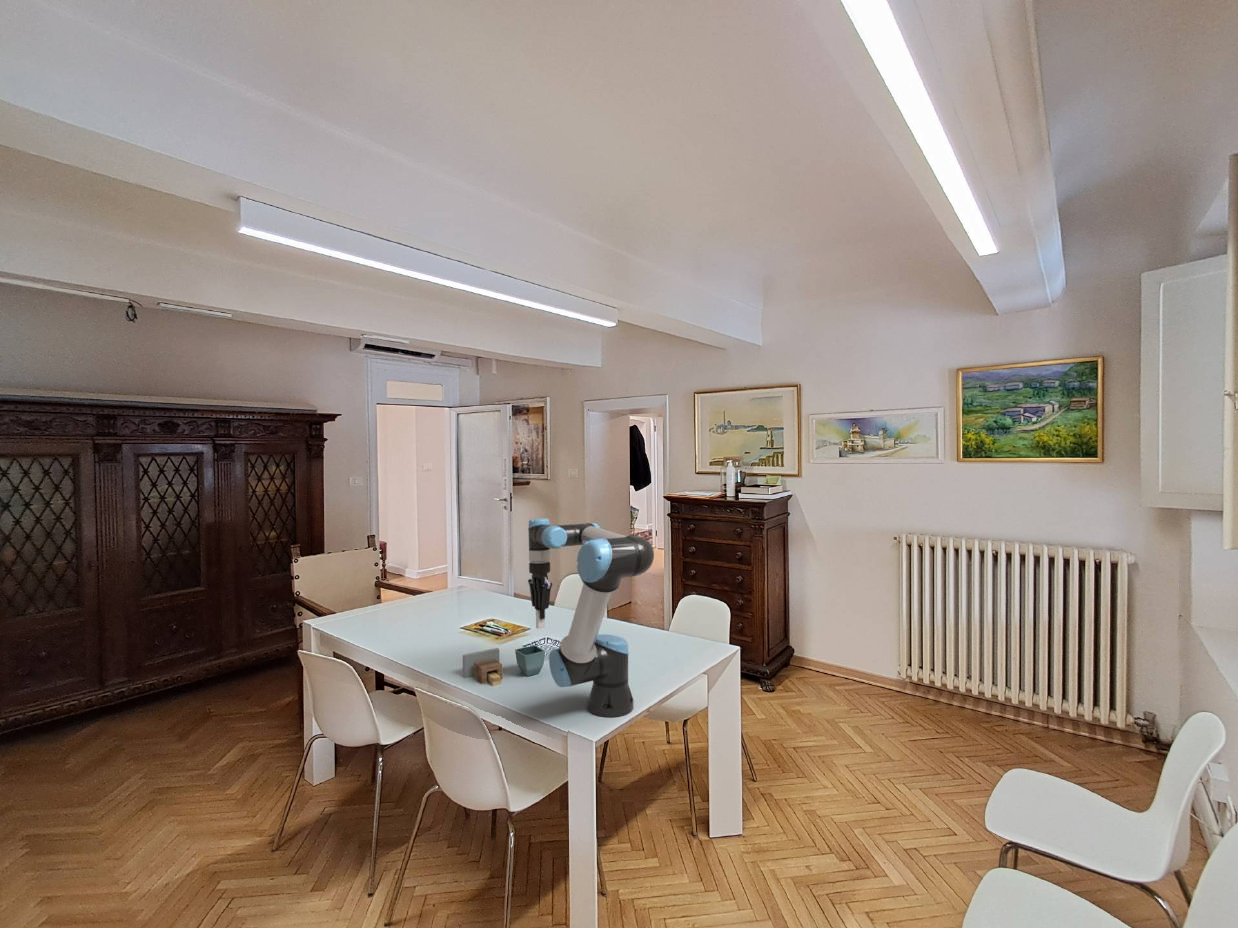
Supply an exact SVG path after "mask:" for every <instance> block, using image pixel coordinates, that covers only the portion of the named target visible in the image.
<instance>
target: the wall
mask: <svg viewBox="0 0 1238 928" xmlns="http://www.w3.org/2000/svg"><path fill="white" fill-rule="evenodd" d="M493 658H494V659H496V660H497V661H498V662H500V648H498V647H494V648H490V649H485V650H481V651H475V652H469V653H465V654H462V677H463V678H469V677H474V662H479V661H484V660H489V659H493Z"/></svg>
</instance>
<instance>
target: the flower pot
mask: <svg viewBox="0 0 1238 928" xmlns="http://www.w3.org/2000/svg"><path fill="white" fill-rule="evenodd" d="M514 654H515V660H516V664H517V667H518V669H519V671H520V672H521V673H522V675H524V676H526V677H530V676H534V675H537V674H538V675H539V673H540V672H541V671H542V669H543V666H544V663H545V656H546V655H545V654H546V650H544V649H543V648H541V647H539V646H537V645H529V646H525V647H524V646H523V647H520V648H516V649H514Z"/></svg>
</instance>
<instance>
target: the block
mask: <svg viewBox="0 0 1238 928" xmlns="http://www.w3.org/2000/svg"><path fill="white" fill-rule="evenodd" d="M488 671H494V672H495V673H497V674H498V675H499V676H501V680H503V663H501V662H500V661H499V662H498V661H497V660H496V659H494V658H493V659H489V660H484V661H479V662H474V675H473V679H476V680H477V681H478V682H479V683H480V684H482V685H483V684H487V683H488V682H487V672H488Z"/></svg>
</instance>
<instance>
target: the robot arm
mask: <svg viewBox="0 0 1238 928" xmlns="http://www.w3.org/2000/svg"><path fill="white" fill-rule="evenodd" d="M527 529H528V530H527V531H528V561H529V563H528V572H529V574H532V575H531V578H529V579H528V580H527V582H528V586H529V592H530V599H531V606H532V607H534V609H535V629H538V630H539V629H544V628H546V622H545V620H546V619H545V618H546V609H549V607H550V600H551V591H552V590H551V589H552V587H553V582H549V576H548V574H549V573H550V572H551V561H550V560H551V550H550V549H552V550H553V549H560V548H563V547H573V546H581V547H580V549H579V551H578V553H577V558H576V562H577V564H576V570H577V574H578V576H579V577H580V581H581V582H582V588H581V591H580V595H579V598H578V602H577V605H576V608H575V611H574V614H573V618H572V621H571V625H570V629H569V631H568V634H567V636H565V637H563V638H562V639H561V641H560V645H559V647H558V648H553V649H552V650H550V652H549V655H548V663H549V664H548V666H549V670H550V673H551V677H552V679H553V681H554V683H555V684H556V685H557V687H560V688H567V687H569V688H570V687H572V686H573V687H574V686H577V685H582V684H586V683H589V682H592V686H591V689H590V692H589V696H588V699H587V710H588V711H589V712H590V713H591V714H593V715H595V716H599V717H604V718H614V717H615V718H617V717H621V716H625V715H627V714H630V713H631V712H632V711H633V710H634V709H635V708H634V697H633V694H632V691H631V688H630V685H629V653H630V652H629V646H628V645H629V643H628V641H627V640H626V639H625V638H624V637H621V636H619V635H614V634H613V635H612V634H605V633H602V634H601V633H600V634H599V632H600V628H601V625H602V623H603V618H604V616H605V614H606V611H607V607H608V605H609V600H610V599H611V595H612V593H614V592H616V591H617V590H618V589H619V587H620V584H621V581H622V579H624V578H632V577H637V576H641V575H643V574H644V573H646V572H647V571H648V570H649V569H650V568H651V566H652V565H653V562H654V559H655V551H654V547H653V546H652V543H651V542H650V541H649V540H648V539H646V538H645V537H642V536H639V535H637V534H636V535H635V534H629V535H623V534H621V533H617V532H614V531H610V530H607V529H604V528H601V526H599V523H595V522H594V523H593V522H592V523H591V522H586V523H576V524H575V523H574V524H559V525H557V524H556V525H555V524H554V525H551V523H550V519H549V518H545V517H544V518H543V517H538V518H530V519H529V520H528V528H527Z"/></svg>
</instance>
